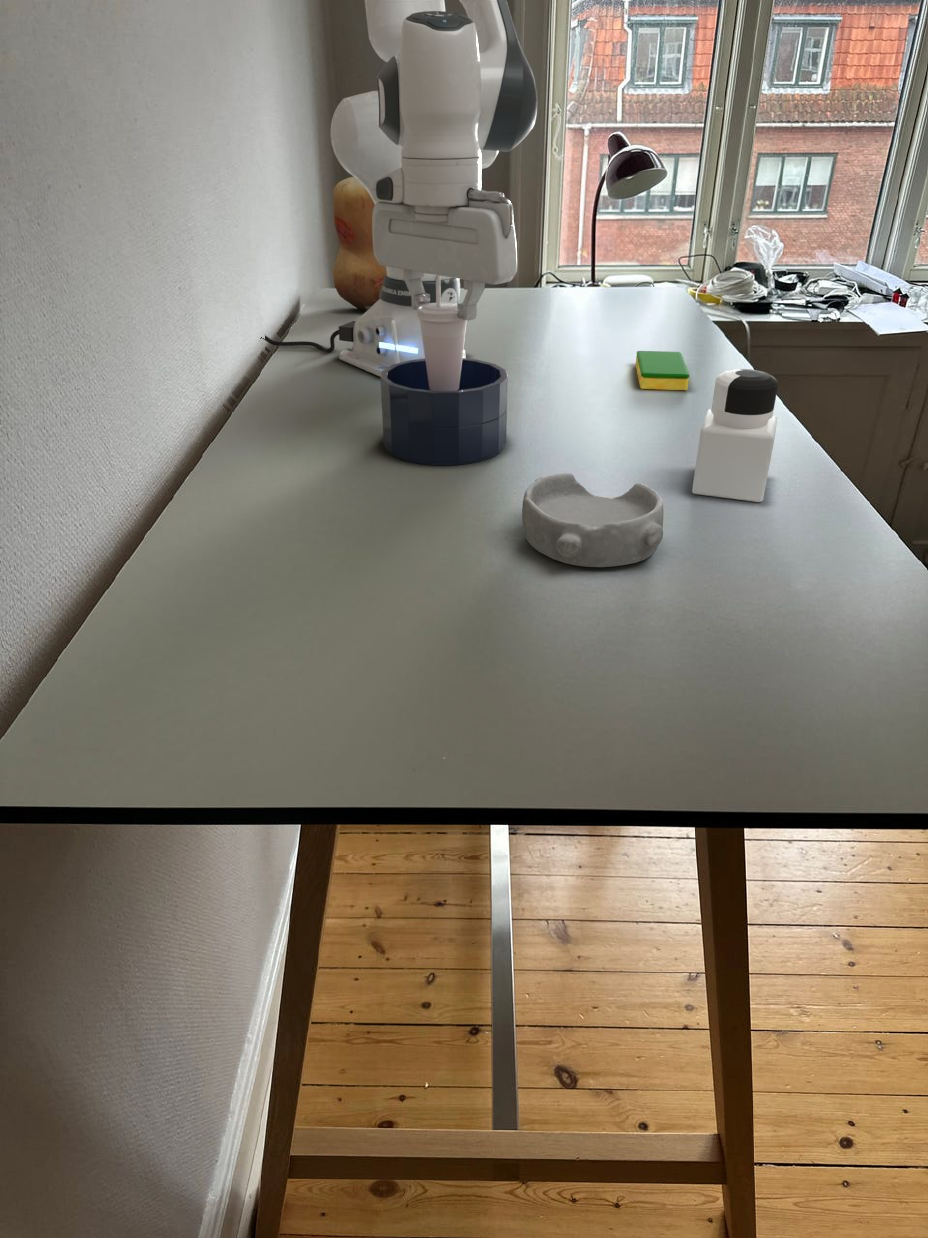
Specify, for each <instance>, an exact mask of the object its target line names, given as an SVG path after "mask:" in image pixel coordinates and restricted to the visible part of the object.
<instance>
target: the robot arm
mask: <svg viewBox="0 0 928 1238" xmlns="http://www.w3.org/2000/svg"><path fill="white" fill-rule="evenodd" d="M458 1H459V2H460V4H461V5H462V6H463V9H464V10H465V13H466V15H465V14H462V13H458V12H449V11H446V3H445V0H364V6H365V7H364V8H365V15H366V16H365V17H366V23H367V24H366V25H367V32H368V33H367V34H368V40H369V42H370V44H371V47H372V49H373V50H374V52H375V53H376V54H377V56H378V57H379V58H380V59H381V60H382V61H383V62H385V64H384V65H383V66H382V67H381V69H380V70H379V72H378V73H377V74H376V76H375V78H376V85H377V90H371V91H366V92H363V93H359V94H355V95H351V96H348V97H344V98H342V100H340V102H339V103H338V105H337V107H336V108H335V110H334V113H333V115H332V119H331V122H330V123H331V124H330V142H331V146H332V151H333V153H334V155H335V157H336V159H337V161H338V162H339V164H340V166H341V167H342V168H343V169H344V170H345V171H346V172H347V173H348V174H350V175H351V177H355V178H356V179H357V180H358V181H359V182H360V183H361V184H362V185H363V186H364V188H365V189H366V190H367V192H368V193H369V194H370V196H371V198H372V199H373V201H374V203H375V206H374V209H373V214H372V235H373V250H374V255H375V257H376V259H377V261H378V263H379V264H380V265H381V266H386V275H385V276H384V278H379V279H375V281H381V283H378V284H376V285H375V287H378V286H382V287H381V291H380V295H379V298H380V299H379V300H378V301H377V302H376V303H375V304H374V305H373V306H372V307H371V308H370V309H369V310H365V312H364V313H363V314H362V315H360V317H358V318H357V319H356V320H352V321H349V322H347V323H344V324H341V325H339V326H338V329H337V330H335V331H334V332H332V333H331V335H330V338H329V343H330V347H328V348H327V347H324V346H323V345H321V344H320V343H318V342H317V343H316V342H315V341H303V340H302V341H301V340H300V341H299V340H298V341H277V340H273V339H272V338H270V337H269V336H267V335H266V334H264V335H265V339H264V338H262V337H261V338H260V340H261V339H262V340H264V341H265V342H267V343H268V344H269V345H273V346H277V347H279V346H280V347H296V346H297V347H299V346H300V347H301V346H302V347H303V346H305V347H308V346H309V347H314V348H316V349H318V350H321V351H323V352H325V353H332V352H334V351H335V347H336V345H335V343H336V342H335V338H336V337H337V336H338V337H339V338H338V340H339V341H340V342H341V341H342V342H349V343H352V346H349V347H348V348H346V349H343V350H342V351H340V352H339V353H338V354H339V355H338V359H339V360H341V361H343V362H345V363H348V364H350V365H352V366H355V367H357V368H359V369H361V370H364V371H366V372H367V373H370V374H373V375H375V376H378V377H380V378H381V372H382V371H383V370H384V369H386V368H388V367H389V366H391V365H393V364H397V363H401V362H405V361H408V360H416V359H424V358H425V354H424V347H423V340H422V333H421V325H420V319H419V318H418V317H417V308H418V307H419V306H421V305H424V304H429V303H436V275H440V279H441V303H458V304H457V310H458V313H457V315H458V318H459V319H463V320H467V322H468V321H473V320H475V319H477V316H478V315H477V314H478V311H477V310H478V303H479V301H480V299H481V297H482V295H483V293H484V291H485V289H486V284H488V285H499V284H505V283H508V282H511V281H512V280H513V279H514V278H515V276H516V274H517V272H518V251H517V238H516V229H515V222H514V212H515V211H514V206H513V204H512V203H511V201H510V200H509V199H508V198H507V197H506V196H505V194H504V193H503V192H502V191H499V190H490V191H489V190H485V189H482V170H483V169H488V168H490V166H491V165H493V163H494V162H495V160H496V158H497V156H498V155H499V152H503V153H504V152H505V153H510V151H512V150H513V149H515V148H516V147H517V146H518V145H520V143H521V142H523V140H525V138H527V136H528V135H529V134H530V132H532V130H533V129H534V126H535V124H536V121H537V114H538V92H537V91H538V90H537V86H536V79H535V75H534V74H533V73H534V72H533V70H532V68H531V65H530V64H529V63H530V62H529V61H528V60H527V57H526V55H525V53H524V51H523V49H522V46H521V43H520V41H519V37H518V35H517V30H516V27H515V24H514V21H513V18H512V14H511V11H510V7H509V4H508V0H458ZM460 280H463V290H465V291H466V294H465V297H464V299H463V301H462V302H459V301H460V298H461V281H460ZM466 357H467V356H466V350H465V348H464V349H463V358H466ZM466 359H467V358H466Z"/></svg>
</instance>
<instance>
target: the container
mask: <svg viewBox="0 0 928 1238" xmlns="http://www.w3.org/2000/svg"><path fill="white" fill-rule="evenodd" d="M778 388H779V381H778V380H777V379H776V377H774V376H773V375H771V374H769V373H768V372H765V371H762V370H759V369H758V370H757V369H749V368H735V369H730V370H729V369H728V370H727V371H723V372H720V373H719V374H718V375H717V377H716V378H715V382H714V388H713V395H712V403H711V408H709V409H707V411H706V415H705V417H704V419H703V423H702V426H701V428H700V433H699V439H698V445H697V452H696V453H697V455H696V460H695V466H694V467H695V468H694V475H693V482H692V489H691V491H692V493H693V495H699V496H700V495H701V496H708V497H715V498H725V499H730V500H731V499H732V500H741V501H747V502H755V503H761V502H762V501H763V500H764V497H765V491H766V487H767V481H768V476H769V470H770V465H771V459H772V454H773V449H774V444H775V439H776V438H775V437H776V432H777V424H778V423H777V422H778V417H777V415H776V414H774V411H775V404H776V399H777V393H778V390H779V389H778Z"/></svg>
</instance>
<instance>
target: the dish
mask: <svg viewBox="0 0 928 1238" xmlns="http://www.w3.org/2000/svg"><path fill="white" fill-rule="evenodd" d="M664 511H665V510H664V502H663V499H662V497H661V495H660V494H659V493H658V492H657V491H656V490H655V489H653V488H651V487H649V486H648V485H646V484H643V483H641V482H640V483H639V482H637V483H634V485H633V486H632V487H631V488H630V489H628V491H626V492H625V493H624V494H622V495H619V496H616V497H611V498H610V497H603V496H599V495H595V494H593V493H591V492H590V491H589V490H588V489H586V488H585V487H584V486H583V485H582V484H581V483H580V482H579V481H578V480H577V479H576V477H575V475H574V474H572V473H567V472H563V473H556V474H550V475H546V476H540V477H538V478H537V479H535V480H534V481H533V482H532V483H531V484H530V485H529V486H528V487H527V488H526V490H525V491H524V495H523V499H522V507H521V524H522V530H523V533H524V537H525V539H526V540H527V542H528V544H529V545H530V546H531V547H532V548H533V549H534V550H536V551H537V552H539V553H541V554H543V555H544V556H546V557H548V558H550V559H553V560H555V561H558V562H560V563H564V564H567V565H572V566H578V567H587V568H611V567H618V566H626V565H632V564H636V563H640V562H642V561H644V560H647V559H648V558H650V557H651V556H652V555H653V554H654V553H655V552H656V551H657V548H658V547H659V545H660V544H661V543H662V540H663V537H664V529H663V528H664Z"/></svg>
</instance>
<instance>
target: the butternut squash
mask: <svg viewBox="0 0 928 1238" xmlns="http://www.w3.org/2000/svg"><path fill="white" fill-rule="evenodd" d="M374 206H375V203H374V201H373V199H372V198H371V196H370V194H369V193H368V192H367V190H366V189H365V188H364V186H363V185H362V184H361V183H360V182H359V181H358V180H357V179H356V178H355V177H354V176H349V177H347V178H344V179H342V180H340V181H339V182H338V183H337V184H336V185H335V186H334V189H333V192H332V208H333V221H334V227H335V231H336V234H337V237H338V243H339V246H338V247H339V248H338V251H337V255H336V258H335V261H334V266H333V274H332V275H333V276H332V277H333V284H334V288H335V290H336V293H337V294H338V295H339V297H340V298H342V299H343V300H344V301H346V302H347V303H349V304H350V305H352V306H354V307H355V308H356V309H359V310H363V311H367V310H369V309H370V308H371V307H372V306H373V305H374V304H375V303H376V302H377V301H378V300H379V299H380V298H379V295H380V291H381V287H382V286H378V287H375V285H376V284H378V283H381V281H375V279H379V278H384V276H385V275H386V266H381V265H380V264H379V263H378V261H377V259H376V257H375V255H374V250H373V235H372V214H373V209H374Z"/></svg>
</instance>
